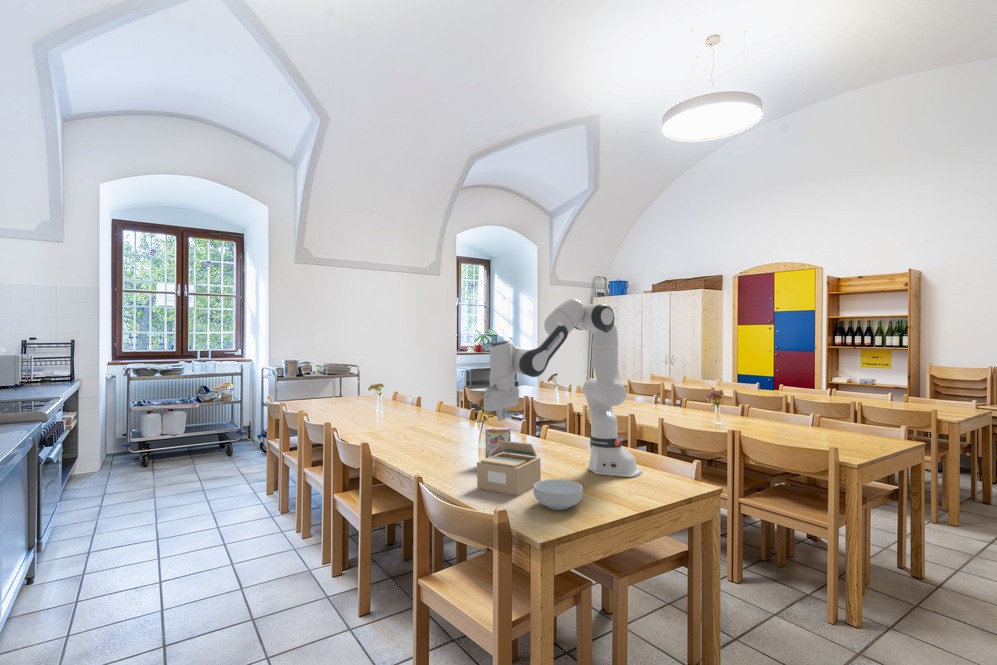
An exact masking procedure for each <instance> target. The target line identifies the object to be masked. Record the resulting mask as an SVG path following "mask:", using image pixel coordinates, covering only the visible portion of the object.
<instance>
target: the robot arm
mask: <svg viewBox="0 0 997 665" xmlns="http://www.w3.org/2000/svg"><path fill="white" fill-rule="evenodd" d="M543 325H544V331H545V332H546V334H547V337H546V338H545V339H544V340H543V341H542V342H541V344H540V345H539V346H538V347H536V348H534V349H533V348H532V349H523V348H520V347H518V346H516V345H514V344H513V343H512V342H511V341H509V340H500V341H497V342H494V343H493V344H491V347H490V350H489V368H490V373H489V385H488V386H487V388H486V389H485V391H484V394H483V411H485V412H495V413H496V416H497V420H498V421H499V422H502V421H505V420H506V417H507V416H506V415H507V414H508V408H510V407H515V406H517V405H518V404H519V401H520V400H519V399H520V391H519V390H520V388H519V387H520V381H519V380H516V379H514V374H518V375H522V376H527V377H531V378H537V377H539V376H541V375H542V374H543V373H544V372H545V371H546V369H547V367H548V365H549V362H550V360H551V359H552V358H553V356H554V355H555V354H556V353H557V351H558V350H559V349H560V348H561V346H562V345H563V344H564V342H565V341H566V340H567V338H568V336H569V334H570V333H571V332H572V331H573V330H574V329H576V330H578V331H589V332H591V335H592V341H591V365H592V369H594V372H595V373H594V374H595V377H593V378H588V379H587V380H586V381H585V382H584V384H583V386H582V394H583V395H584V397H585V399H586V401H587V402H586V403H587V407H588V409H589V414H590V428H591V429H590V430H591V431H590V434H591V435H590V436H589V438H590V440H589V445H590V456H589V462H588V466H587V469H588V470H589V471H590V472H592V473H594V475H601V476H602V475H603V476H613V477H622V478H623V477H624V478H625V477H626V478H634V477H635V478H636V477H638V476H640V475H641V473H642V472H643V471H642V467H640V466H637V462H636V457H635V456H634V455H633V453H631V452H630V451H629V450H628V449H626V447H624V446H623V440H624V438H620V437H619V436H618V418H617V416H616V413H614V409H613V407H616V406H621V405H622V404H623V403H624V402H625V401H626V399H627V396H628V395H627V389H626V387H625V386H624V384H623V382H622V378H621V375H620V370H619V360H618V359H619V337H618V330H617V326H616V324H615V312H614V310H613V308H612V307H611V306H609V305H607V304H605V303H604V304H603V303H598V304H597V303H590V304H583V303H582V302H581V301H580V300H578V299H577V298H569V299H567V300H566V301H564V302H563V303H561V304H560V305H558V306H557V307H556V308H555V309H554V310H553V311H551V313H549V314H548V315H547V317H546V319H545V320H544V324H543Z"/></svg>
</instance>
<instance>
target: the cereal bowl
mask: <svg viewBox="0 0 997 665" xmlns="http://www.w3.org/2000/svg"><path fill="white" fill-rule="evenodd" d="M583 487H584V486H583V485H582V484H581V483H579V482H577V481H573V480H569V479H560V478H559V479H558V478H556V479H545V480H541V481H540V482H537V483H535V484H534V485H533V488H532V489H533V495H534V498H535V499H536V501H537V502H538V503H539V504H541V505H543V506H545V507H546V508H548V509H550V510H553V511H564V510H567V509H569V508H570V507H573V506H575V505H577V504H579V502H580V501H581V500H582V498H583V491H584V489H583Z"/></svg>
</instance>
